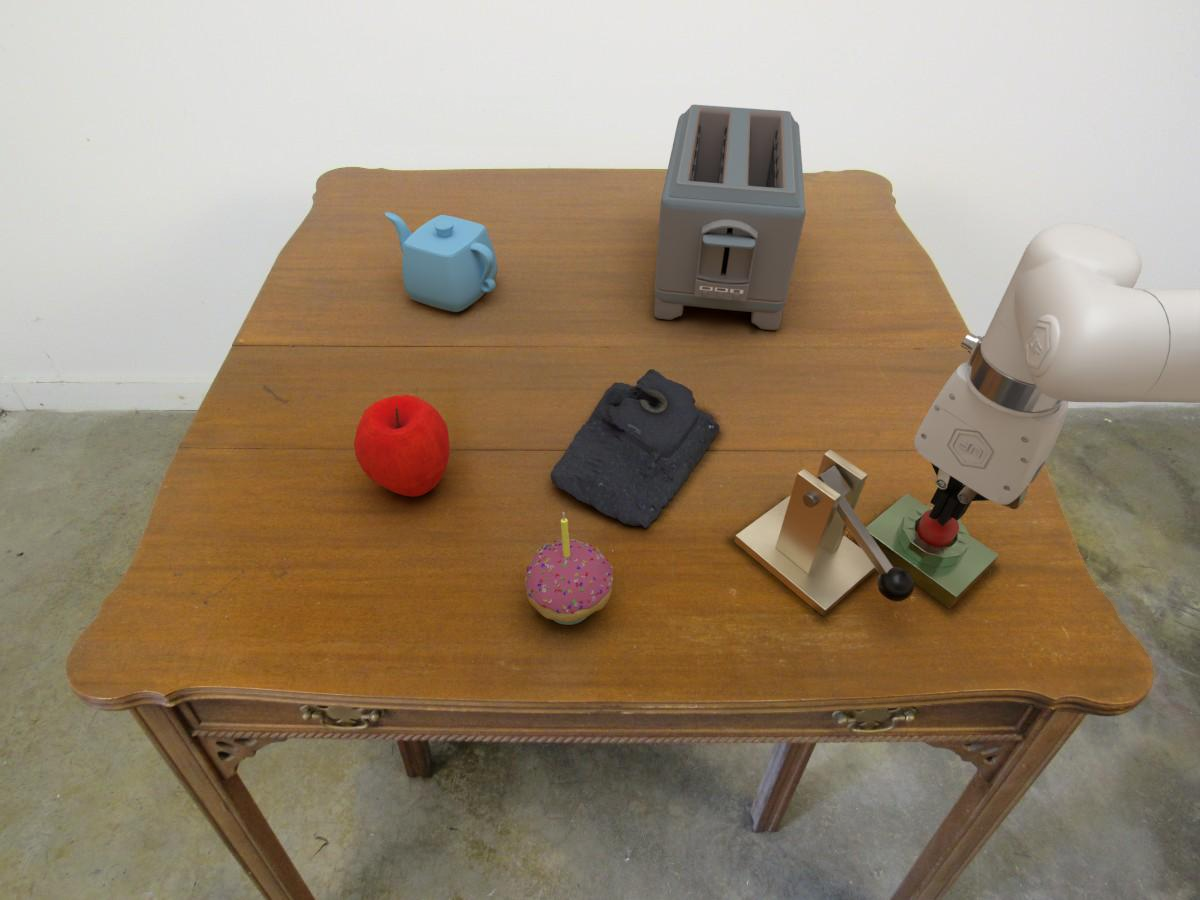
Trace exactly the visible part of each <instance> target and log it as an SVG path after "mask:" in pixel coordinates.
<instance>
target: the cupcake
mask: <svg viewBox="0 0 1200 900" xmlns="http://www.w3.org/2000/svg"><path fill="white" fill-rule="evenodd" d="M561 513H562V515H561V516H562V518H561V519H560V530H561V531H560V532H561V539H556V540H554V541H551V542H550V543H549V542H547V543H545V545H543V546H541V548H540V549H537V551H536V553H535V554H534V556H533V557H532V559H530V563H529V564H528V566H526V571H525V573H526V574H525V577H524V587H525V591H526V595H527V599H528V602H529V603H530V605H531V606H532V607H533V608H534V609H535V610H536V611H537V612H538V613H539V614H540V615H541V616H542V617H543V618H545V619H548V620H552V621H554V622H555V623H557V624H560V625H565V626H570V625H571V626H573V625H576V624H579V623H581V622H583V621H584V620H585V619H588V617H589V616H590V615H593V614H594V613H595V612H598V611H600V610H603V608H604V607H605V606H606V605H607V604H608V601H609V600H610V598H611V594H612V592H613V582H614V581H613V580H614V577H613V566H612V565H611V563H610V562H609V560H608V559H607V558H606V556H605V555H604V554H603V553H602V552H601V551H600V549H599V548H598V547H595V546H593V545H591V544H589V543H588V542H584V541H581V540H578V539H573V538H571V539H570V535H569V534H570V533H569V531H570V530H569V520H568V519H567V518H566V515H565V512H564V511H562V512H561Z"/></svg>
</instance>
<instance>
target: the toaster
mask: <svg viewBox="0 0 1200 900" xmlns="http://www.w3.org/2000/svg"><path fill="white" fill-rule="evenodd" d="M800 134H801V131H800V124H799V123H798V122H797V120H795V118H794V117H793V114H792V112H791V111H788V110H779V109H778V110H777V109H765V108H764V109H763V108H751V107H750V108H748V107H735V106H734V107H733V106H719V105H708V104H707V105H706V104H691V105H690V106H689V108H688V109H687V110H686V111H685V112H683V113H681V114H680V115H679V117H678V120H677V124H676V129H675V133H674V137H673V142H672V146H671V152H670V157H669V161H668V165H667V170H666V171H667V172H666V174H665V175H666V176H665V179H664V184H663V190H662V194H661V199H660V208H659V222H658V233H657V250H656V263H655V278H654V290H653V291H654V307H653V314H654V317H655V318H656V319H658V320H667V321H672V320H674V319H676V318H679V317H681V316H683V313H684V306H685V307H695V308H706V309H715V310H716V309H717V310H724V311H725V310H726V311H737V312H746V313H747V312H748V313H751V315H750V316H751V318H750V319H751V320H750V322H751V323H752V324H754V325H755V326H757V327H758V328H759V329H760V330H767V331H776V330H778V329H779V328H780V326H781V321H782V317H783V312H784V310H785V306H786V303H787V299H788V294H789V290H790V286H791V281H792V277H793V272H794V268H795V263H796V259H797V255H798V251H799V245H800V241H801V236H802V232H803V228H804V223H805V219H806V215H807V214H806V213H807V212H806V211H807V210H806V196H805V186H804V185H805V184H804V183H805V182H804V172H803V170H804V169H803V158H802V146H801V135H800Z"/></svg>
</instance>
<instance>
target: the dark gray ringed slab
mask: <svg viewBox="0 0 1200 900" xmlns="http://www.w3.org/2000/svg"><path fill="white" fill-rule="evenodd" d="M695 404H696V399H695V397H694V395H693V391H692V390H691V389H690V388H688V387H687V386H685V385H684V384H682V383H679V382H677V381H673V380H672V379H669V378H666V377H665V376H664V375H663V374H661V373H660V371H656V370H655V369H654V368H650V369H649V370H647V371H646V372H645V374H644V375H643V376H642V377H640V378H639V379H637V381H636V385H631V384H629V383H624V382H613V383H612V385H611V386H610V387H608V388H607V389H606V390H605V392H604V395H602V397H601V398H600V399H599V401H598V402H597V404H596V405H595V407H594V410H592V411H593V412H592V413H591V414H590V416H589V418H588V420H587V421H586V422H585V424H582V425H581V428H580V429H579V430H578V431H577V432H576V433H575V435H574V437H573V440H572V442H571V443H569V444H568V445H569V446H568V447H567V449H566V450H565V452H564V453H563V455H562V456H561V458H560V459H559V460H558V461H557V462H556V464H555V465H554V466H553V469H552V470H551V471H550V480H551V483H552V484H553V485H554V486H555V487H556V488H558V489H560V490H562V491H564V492H565V493H568V494H569V495H571V496H572V497H574V498H575V499H576V500H577V501H581V502H582V503H584V504H587V505H589V506H592V507H593V508H595V509H596V511H598V512H600V513H601V514H603V515H605V516H607V517H611V518H613V519H615V520H617V521H619V522H620V523H622V524H624V525H630V526H633V527H639V526H642V527H643V528H645V529H646V528H648V527H649V526H650V525H651V524H652V522H654V521H655V520H656V519H657V518H658V517H659V515H660V514H661V513H662V510H663V508H666V507H667V506H668V504H669V502H670V501H671V500H672V499H673V498H674V496H675V495H676V494H677V493H678V492H679V490H681V487H682V486H683V485H684V484H685V483H686V481H687V480H688V479H689V478H688V477H689V476H690V475H691V473H692V472H693V470H694V469H695V467H696V466H697V465H698V463H699V462H700V461H701V460H702V458H703V456H704V455H705V452H706V451H707V450H708V449H710V447H711V444H712V443H713V441H714V439H715V438H716V436H717V435H718V433H719V430H720V425H719V423H717V422H716V421H714V420H713V418H714V416H713V414H710V413H708V412H704V411H703V410H701V409H698V407H696V405H695Z"/></svg>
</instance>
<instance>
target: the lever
mask: <svg viewBox="0 0 1200 900" xmlns="http://www.w3.org/2000/svg"><path fill="white" fill-rule="evenodd" d="M814 476H815V477H817V478H818V479H819V480H821V481H822V482H824V483H825V484H826V485H828V486H829V487H831V488H832V489H833V490H835V491H836V492H838V493H839V494H840V495H841V498H840V500H839V503H838V506H837V508H836V512H837V513H838V515H839V516H840V518H841V519H842V520H843V522H844V523H845V525H846V526H847V530H848V531H849V532H850V533H851V535H852V537H853V538H854V540H855V541H856V543H857V545H858V546H859V547H860V548H861V549H863V551H864V552H865V554H866V555H867V557H868V558H869V560H870V561H871V563H872V564H873V565H874V567H875V568H876V570H875V571H877V573H878V575H879V576H878V578H877V589H878V591H879V593H880V594H881V595H882V597H883V598H885V599H886V600H889V601H891V602H902V601H906V600H907V599H909V598H910V596H911V595H913V592H914V589H915V583H914V581H913V578H912V576H911V575H910V574H909V573H908V572H907V571H906V570H904V569H902V568H899V567H893V566H892V565H891V563H890V562H889V560H888V559H887V557H886V556H885V555H884V553H883V552H882V550H881V549H880V547H879V546H878V544H877V543H876V542H875V540H874V539H873V537H872V536H871V534H870V533H869V531H868V530H867V529H866V526H865V524H864V523H863V521H862V520H861V518H860V517H859V515H858V514H857V513H856V511H855V509H854V510H853V508H852V507H851V505H850V504H849V503H848V501H847V500H846V498H845V497H844V495H846V494H847V493H848V492H849V491H851V488H850V487H849V486H848V484H847V483H846V481H845V480H844V478H843V477H842V475H841V474H840V473H839V471H838V470H837V468H836V467H835V466H832V467H830V468H828V469H826V470H824V471H822V472H820V473H819V474H818V473H817V474H816V475H814Z"/></svg>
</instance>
